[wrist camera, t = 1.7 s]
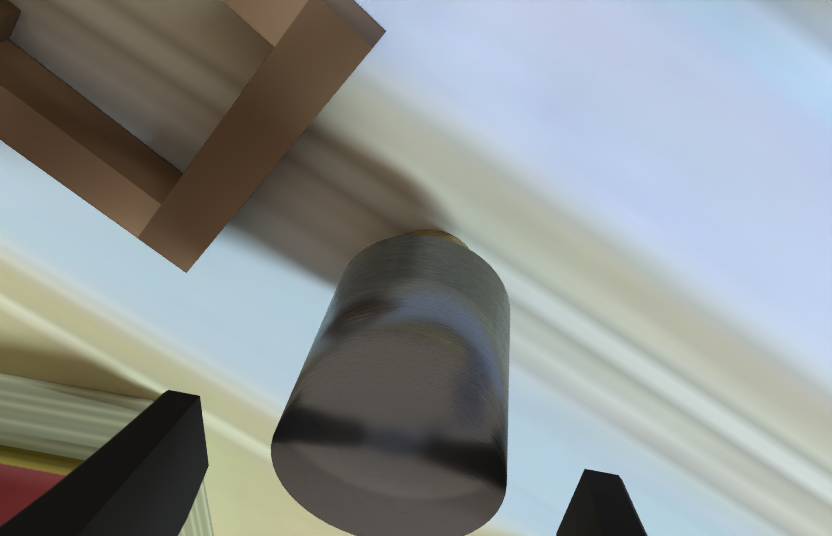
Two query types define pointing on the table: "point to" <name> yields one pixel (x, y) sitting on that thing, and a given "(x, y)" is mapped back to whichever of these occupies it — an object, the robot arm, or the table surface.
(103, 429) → the hardcover book
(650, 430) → the table surface
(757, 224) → the table surface
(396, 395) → the peg
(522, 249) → the table surface
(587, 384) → the table surface
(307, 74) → the keyhole plate
